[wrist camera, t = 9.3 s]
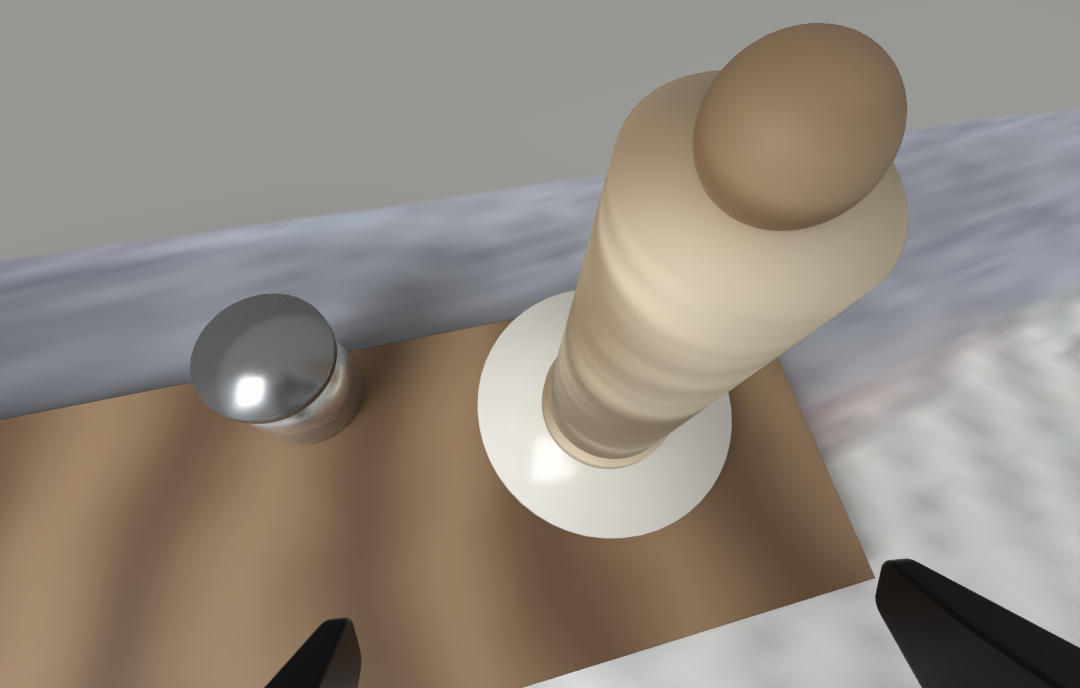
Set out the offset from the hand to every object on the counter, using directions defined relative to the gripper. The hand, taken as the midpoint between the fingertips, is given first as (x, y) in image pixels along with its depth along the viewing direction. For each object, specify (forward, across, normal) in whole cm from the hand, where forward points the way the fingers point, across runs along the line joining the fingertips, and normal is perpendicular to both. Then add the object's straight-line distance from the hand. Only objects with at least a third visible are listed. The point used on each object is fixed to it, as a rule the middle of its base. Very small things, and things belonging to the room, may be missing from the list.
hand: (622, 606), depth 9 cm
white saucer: (+12, -2, +2) cm, 12 cm away
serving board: (+10, +7, +5) cm, 13 cm away
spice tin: (+12, +10, +1) cm, 15 cm away
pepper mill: (+11, -2, +2) cm, 12 cm away
